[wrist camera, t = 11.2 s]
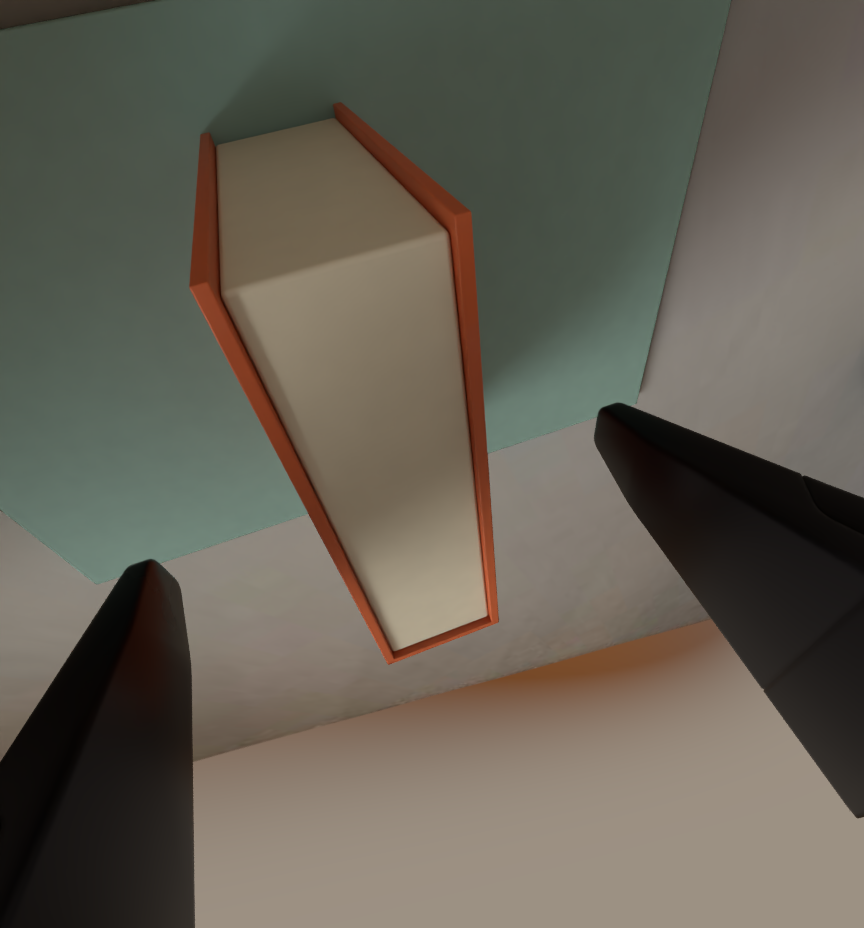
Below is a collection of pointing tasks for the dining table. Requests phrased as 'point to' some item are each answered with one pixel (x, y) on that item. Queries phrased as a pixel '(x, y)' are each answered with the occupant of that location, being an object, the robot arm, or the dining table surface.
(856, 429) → the dining table surface
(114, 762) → the robot arm
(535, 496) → the dining table surface
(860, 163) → the dining table surface
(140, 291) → the mat
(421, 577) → the orange book
